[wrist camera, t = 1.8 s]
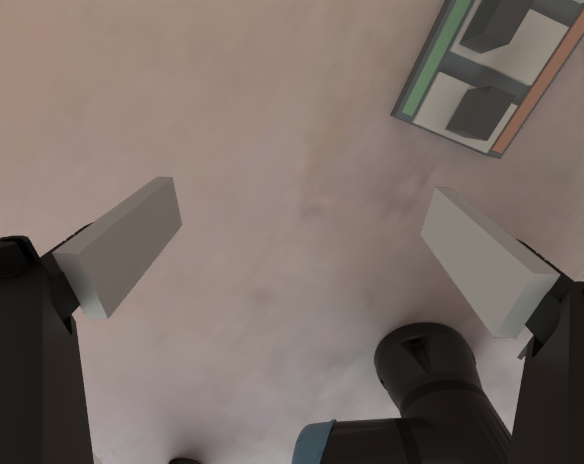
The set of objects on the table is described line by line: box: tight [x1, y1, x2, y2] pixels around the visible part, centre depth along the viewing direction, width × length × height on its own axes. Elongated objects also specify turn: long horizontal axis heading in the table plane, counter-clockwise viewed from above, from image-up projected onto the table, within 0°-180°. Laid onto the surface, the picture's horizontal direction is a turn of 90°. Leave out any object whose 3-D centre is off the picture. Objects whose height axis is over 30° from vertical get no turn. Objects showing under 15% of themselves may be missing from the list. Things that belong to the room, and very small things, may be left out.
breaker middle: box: [459, 0, 535, 54], centre depth 23 cm, size 2×4×4 cm, turn 160°
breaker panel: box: [391, 0, 584, 159], centre depth 27 cm, size 13×19×2 cm
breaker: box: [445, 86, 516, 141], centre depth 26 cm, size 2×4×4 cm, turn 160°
